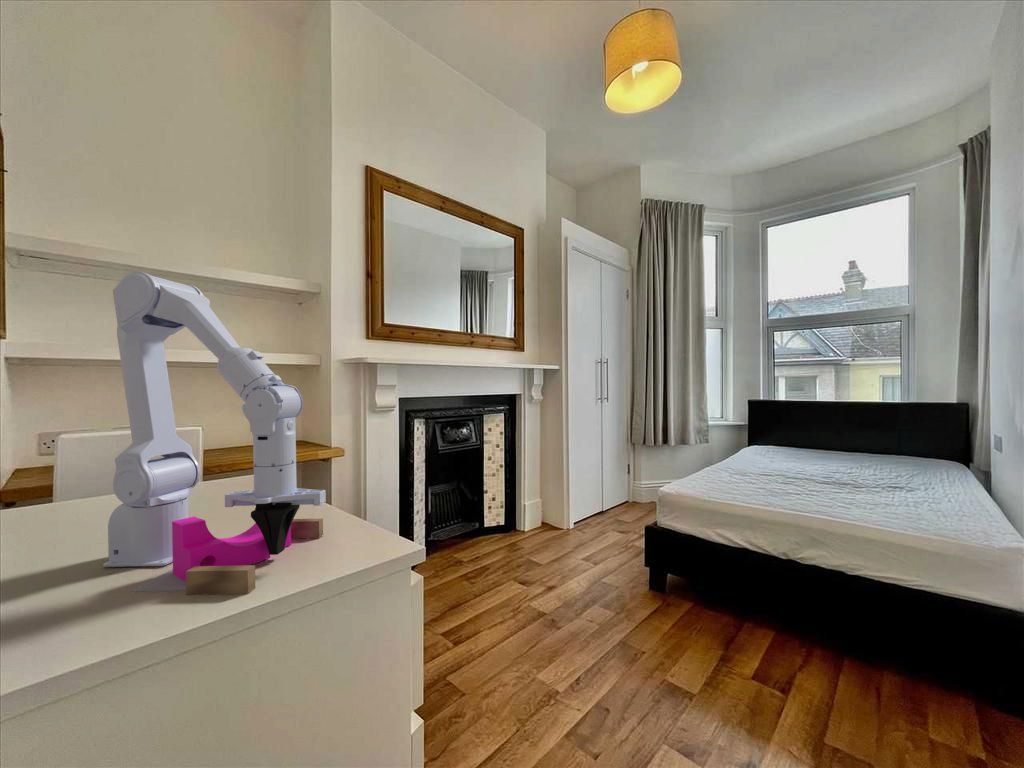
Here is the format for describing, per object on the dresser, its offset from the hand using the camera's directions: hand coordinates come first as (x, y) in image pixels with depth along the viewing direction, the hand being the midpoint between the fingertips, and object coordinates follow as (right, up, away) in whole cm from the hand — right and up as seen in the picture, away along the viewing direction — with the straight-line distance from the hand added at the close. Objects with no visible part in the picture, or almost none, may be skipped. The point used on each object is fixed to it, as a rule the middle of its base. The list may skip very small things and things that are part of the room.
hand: (276, 552), depth 64 cm
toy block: (-6, -1, 0) cm, 6 cm away
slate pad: (-10, -1, 0) cm, 10 cm away
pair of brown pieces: (-2, -1, 0) cm, 2 cm away
